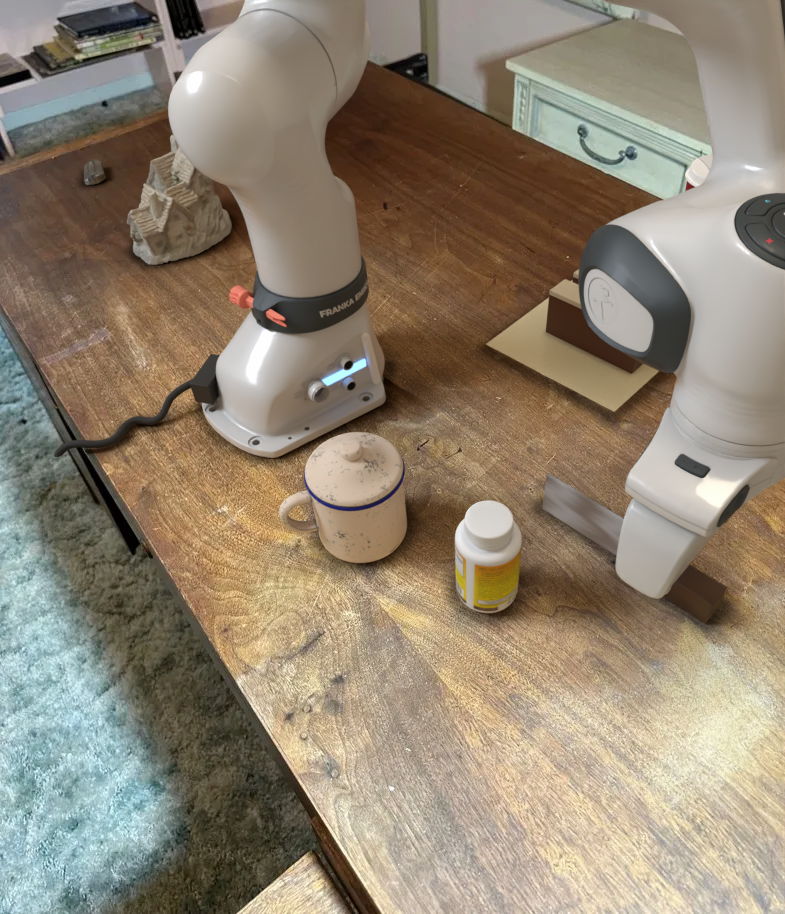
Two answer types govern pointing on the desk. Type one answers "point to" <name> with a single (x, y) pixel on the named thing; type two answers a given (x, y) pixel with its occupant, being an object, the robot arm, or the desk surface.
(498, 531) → the supplement bottle
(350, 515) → the teacup with lid
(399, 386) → the desk surface
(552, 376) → the platter
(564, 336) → the tan-topped brown brick
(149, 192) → the ceramic cottage
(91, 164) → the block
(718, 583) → the knife
